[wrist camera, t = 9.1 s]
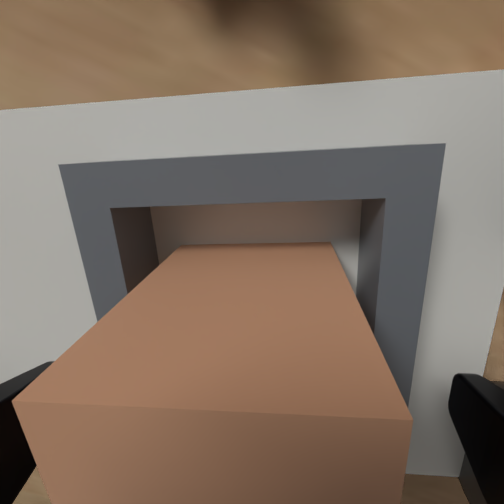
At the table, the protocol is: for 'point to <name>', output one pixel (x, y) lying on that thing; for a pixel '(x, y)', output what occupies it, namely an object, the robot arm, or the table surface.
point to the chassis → (271, 216)
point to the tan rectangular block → (224, 389)
